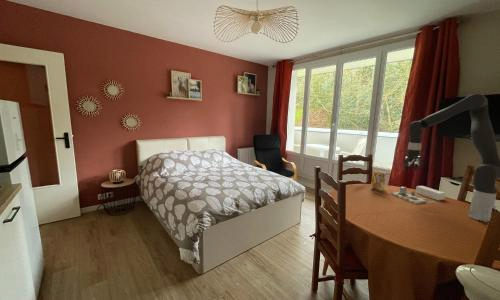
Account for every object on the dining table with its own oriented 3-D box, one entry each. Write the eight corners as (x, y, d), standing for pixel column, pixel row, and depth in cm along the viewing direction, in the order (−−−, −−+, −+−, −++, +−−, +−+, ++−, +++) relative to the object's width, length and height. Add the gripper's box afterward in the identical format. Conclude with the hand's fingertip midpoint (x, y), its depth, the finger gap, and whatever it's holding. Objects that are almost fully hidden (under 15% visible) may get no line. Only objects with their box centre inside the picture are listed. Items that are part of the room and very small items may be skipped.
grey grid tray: (436, 203, 151) (436, 197, 150) (428, 204, 149) (429, 198, 148) (408, 193, 170) (409, 188, 169) (401, 193, 168) (402, 189, 167)
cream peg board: (425, 203, 150) (426, 200, 149) (414, 205, 147) (415, 201, 147) (401, 194, 167) (401, 191, 166) (391, 195, 164) (391, 192, 164)
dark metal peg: (406, 198, 159) (408, 188, 158) (402, 198, 158) (404, 188, 157) (401, 196, 163) (403, 186, 162) (397, 196, 162) (399, 186, 161)
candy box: (384, 190, 175) (386, 172, 172) (382, 191, 172) (384, 173, 169) (372, 187, 181) (374, 170, 179) (370, 189, 178) (372, 171, 176)
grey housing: (443, 200, 156) (445, 192, 155) (437, 201, 154) (438, 193, 153) (421, 192, 171) (422, 185, 170) (415, 193, 169) (416, 186, 168)
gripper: (411, 150, 151) (409, 172, 153) (426, 149, 154) (423, 171, 157) (401, 148, 158) (399, 170, 160) (416, 147, 162) (413, 168, 164)
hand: (411, 170), depth 159 cm, fingers open, 8 cm apart
